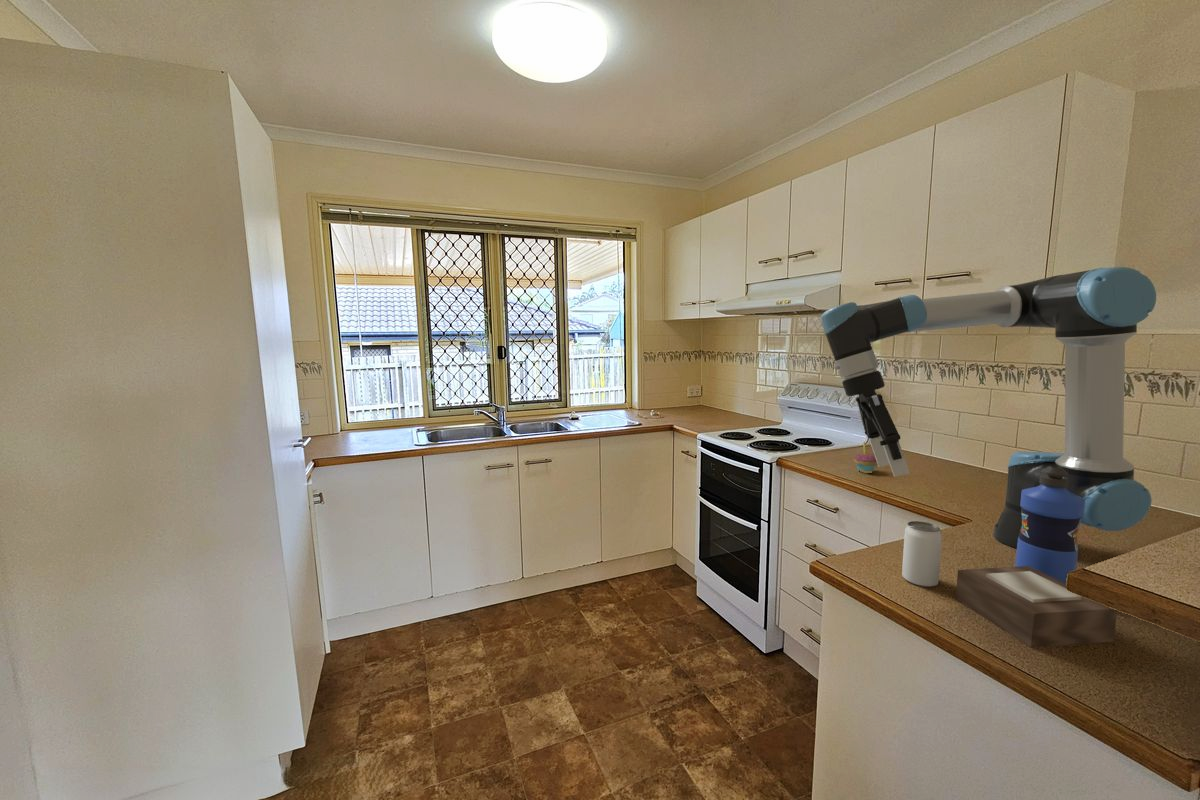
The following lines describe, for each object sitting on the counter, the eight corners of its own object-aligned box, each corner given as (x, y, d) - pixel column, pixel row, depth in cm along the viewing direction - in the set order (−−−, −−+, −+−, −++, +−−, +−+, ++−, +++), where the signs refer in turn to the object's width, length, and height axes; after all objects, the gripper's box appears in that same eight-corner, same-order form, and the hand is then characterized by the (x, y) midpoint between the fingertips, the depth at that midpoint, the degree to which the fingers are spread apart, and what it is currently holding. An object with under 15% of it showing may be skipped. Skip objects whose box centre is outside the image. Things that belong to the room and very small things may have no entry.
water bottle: (1012, 584, 97) (1024, 467, 94) (1013, 568, 104) (1024, 458, 101) (1076, 600, 91) (1091, 475, 88) (1072, 582, 98) (1086, 465, 95)
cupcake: (848, 469, 185) (849, 439, 183) (868, 468, 186) (870, 439, 184) (862, 475, 176) (864, 444, 175) (883, 474, 177) (885, 443, 176)
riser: (1026, 594, 94) (1029, 563, 93) (1113, 641, 79) (1118, 604, 78) (955, 598, 92) (958, 566, 92) (1030, 647, 78) (1034, 610, 77)
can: (903, 569, 104) (907, 518, 103) (939, 578, 100) (943, 524, 99) (899, 581, 99) (903, 527, 98) (937, 591, 95) (941, 534, 94)
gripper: (833, 381, 114) (862, 466, 112) (851, 377, 91) (888, 484, 89) (867, 372, 112) (897, 458, 110) (893, 365, 88) (932, 474, 86)
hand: (893, 470), depth 99 cm, fingers open, 13 cm apart
